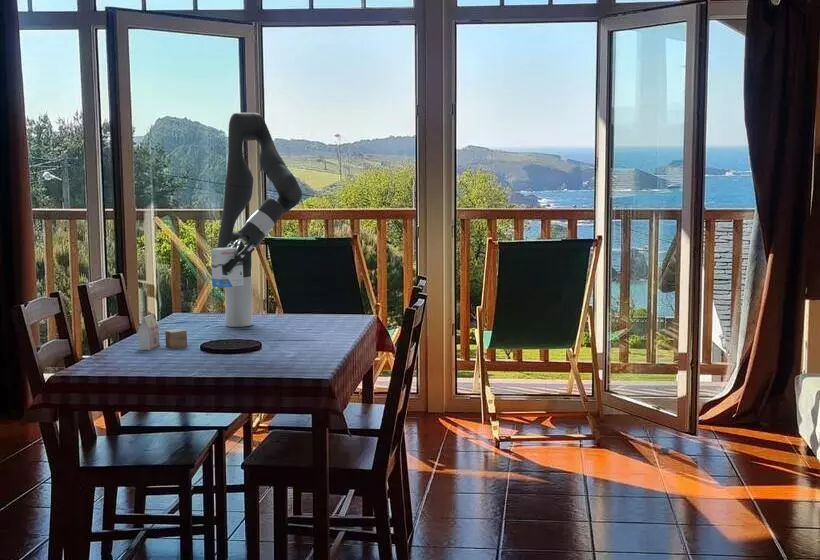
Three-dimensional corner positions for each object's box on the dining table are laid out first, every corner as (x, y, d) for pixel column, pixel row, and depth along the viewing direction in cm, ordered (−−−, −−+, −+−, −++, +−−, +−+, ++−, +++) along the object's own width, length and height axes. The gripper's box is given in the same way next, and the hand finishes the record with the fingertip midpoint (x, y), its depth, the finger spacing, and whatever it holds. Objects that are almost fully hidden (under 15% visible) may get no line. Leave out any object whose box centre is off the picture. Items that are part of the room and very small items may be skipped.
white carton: (138, 349, 294) (137, 317, 293) (148, 345, 300) (146, 314, 299) (150, 349, 293) (148, 317, 292) (159, 345, 300) (158, 314, 299)
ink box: (220, 288, 290) (218, 249, 289) (211, 286, 294) (210, 248, 293) (244, 285, 296) (243, 247, 294) (236, 284, 300) (234, 246, 298)
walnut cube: (165, 346, 299) (165, 330, 299) (181, 344, 302) (180, 328, 301) (171, 348, 295) (170, 332, 294) (187, 346, 298) (186, 330, 297)
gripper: (238, 219, 303) (204, 260, 297) (258, 221, 291) (223, 263, 286) (254, 235, 306) (220, 275, 301) (274, 237, 294) (240, 279, 289)
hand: (222, 269), depth 293 cm, fingers closed on ink box, 5 cm apart
